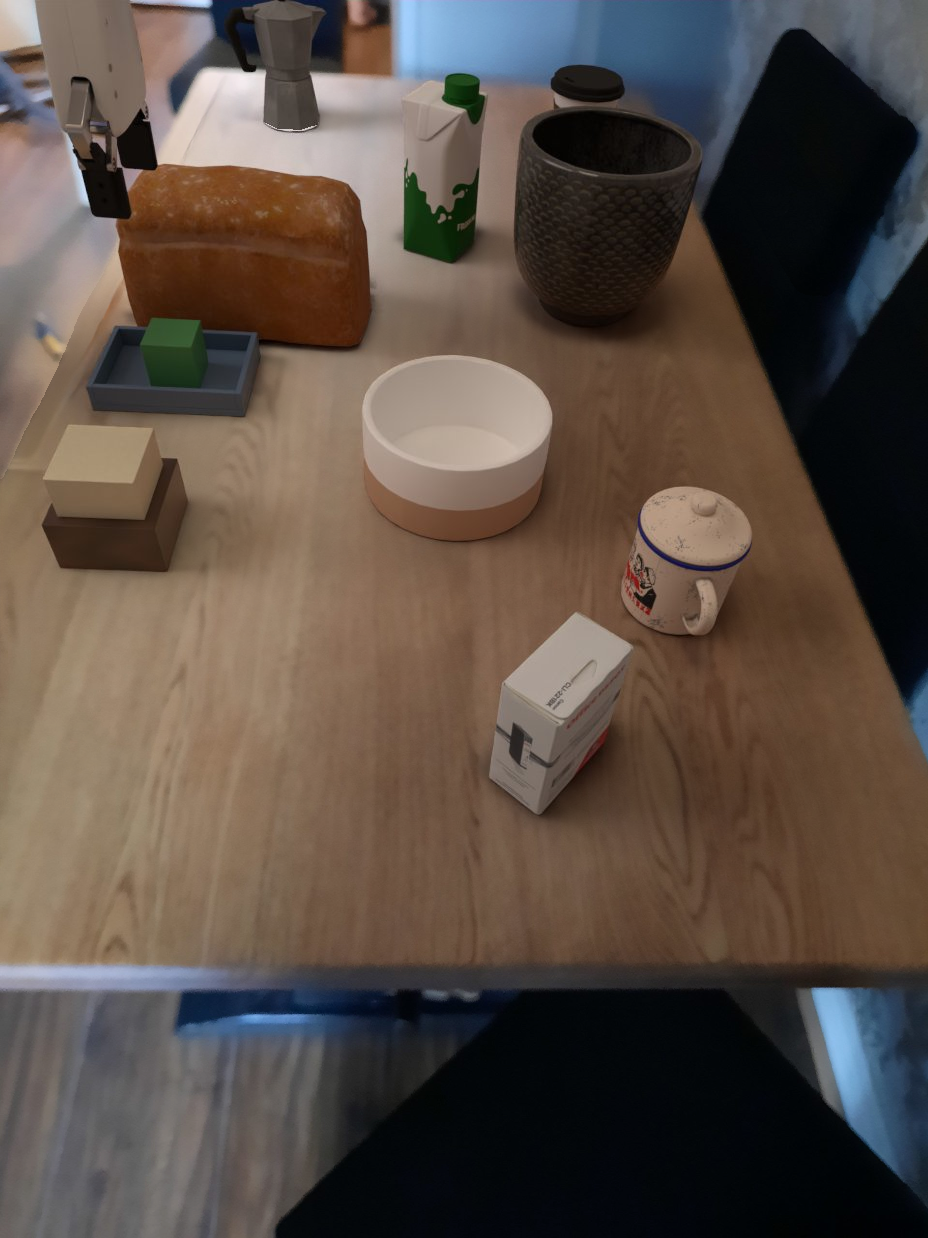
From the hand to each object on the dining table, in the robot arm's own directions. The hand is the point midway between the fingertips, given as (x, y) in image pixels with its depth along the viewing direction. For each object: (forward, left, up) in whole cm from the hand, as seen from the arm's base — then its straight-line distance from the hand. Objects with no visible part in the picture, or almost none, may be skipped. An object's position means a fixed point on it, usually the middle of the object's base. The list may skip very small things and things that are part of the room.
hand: (126, 191), depth 75 cm
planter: (+46, +20, -20) cm, 54 cm away
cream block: (+1, -23, -15) cm, 27 cm away
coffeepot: (+3, +71, -20) cm, 74 cm away
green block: (+1, 0, -19) cm, 19 cm away
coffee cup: (+49, +62, -20) cm, 82 cm away
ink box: (+37, -45, -20) cm, 61 cm away
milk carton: (+28, +33, -20) cm, 48 cm away
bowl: (+30, -14, -20) cm, 38 cm away
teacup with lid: (+49, -30, -20) cm, 61 cm away
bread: (+7, +14, -20) cm, 25 cm away
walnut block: (+1, -23, -20) cm, 30 cm away
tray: (+1, 0, -20) cm, 20 cm away
